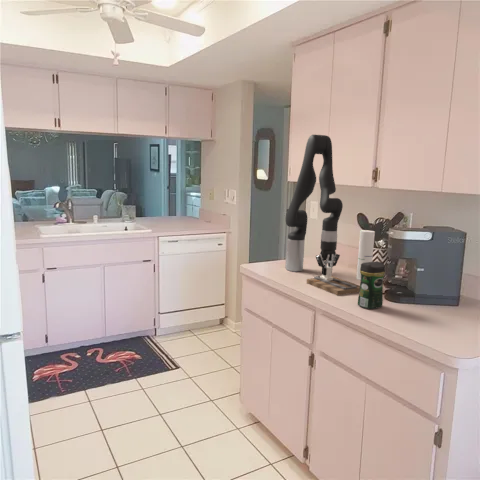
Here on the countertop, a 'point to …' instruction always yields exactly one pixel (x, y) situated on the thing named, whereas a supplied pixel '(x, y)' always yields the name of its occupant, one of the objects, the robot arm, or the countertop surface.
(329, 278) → the fader
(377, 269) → the coffee jar
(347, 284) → the wooden board
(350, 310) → the countertop surface
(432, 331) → the countertop surface
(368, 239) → the cylindrical container
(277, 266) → the countertop surface
